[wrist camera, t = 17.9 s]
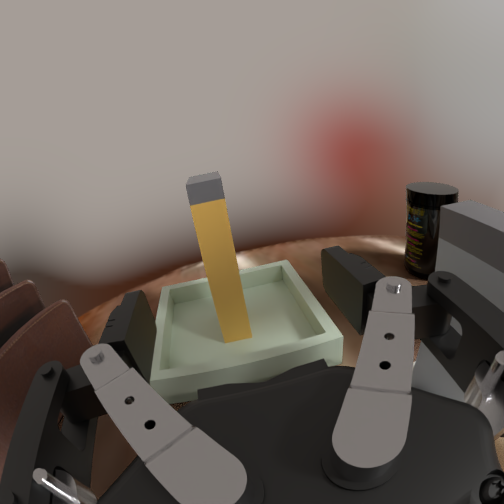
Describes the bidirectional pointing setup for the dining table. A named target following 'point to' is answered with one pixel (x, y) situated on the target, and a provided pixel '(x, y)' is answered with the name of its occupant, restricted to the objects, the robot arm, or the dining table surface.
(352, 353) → the dining table surface
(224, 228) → the yellow grey long block
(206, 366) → the tray
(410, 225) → the supplement container
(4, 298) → the letter holder
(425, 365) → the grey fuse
